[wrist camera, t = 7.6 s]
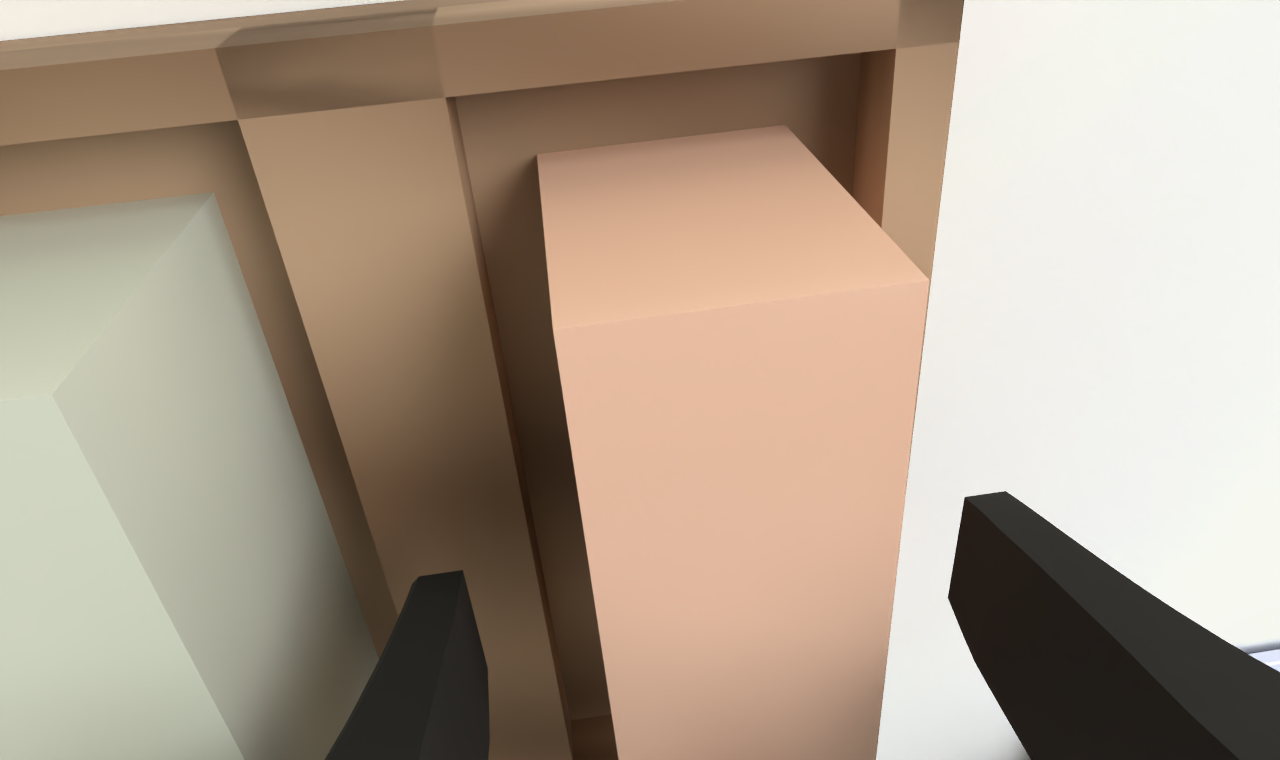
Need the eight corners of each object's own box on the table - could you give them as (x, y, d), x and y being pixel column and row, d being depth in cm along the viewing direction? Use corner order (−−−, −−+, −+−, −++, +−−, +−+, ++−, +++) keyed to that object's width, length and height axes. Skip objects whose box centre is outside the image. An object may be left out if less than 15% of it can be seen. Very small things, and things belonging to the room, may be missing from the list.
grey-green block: (396, 709, 18) (363, 983, 14) (219, 737, 18) (130, 1023, 13) (213, 191, 12) (52, 395, 8) (-60, 222, 12) (-381, 449, 7)
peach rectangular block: (779, 649, 18) (860, 895, 14) (612, 675, 18) (645, 933, 14) (785, 124, 12) (929, 280, 8) (536, 154, 12) (553, 329, 8)
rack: (844, 669, 20) (875, 746, 18) (176, 774, 19) (145, 866, 17) (903, -51, 12) (967, -29, 10) (-254, 66, 11) (-391, 110, 9)
